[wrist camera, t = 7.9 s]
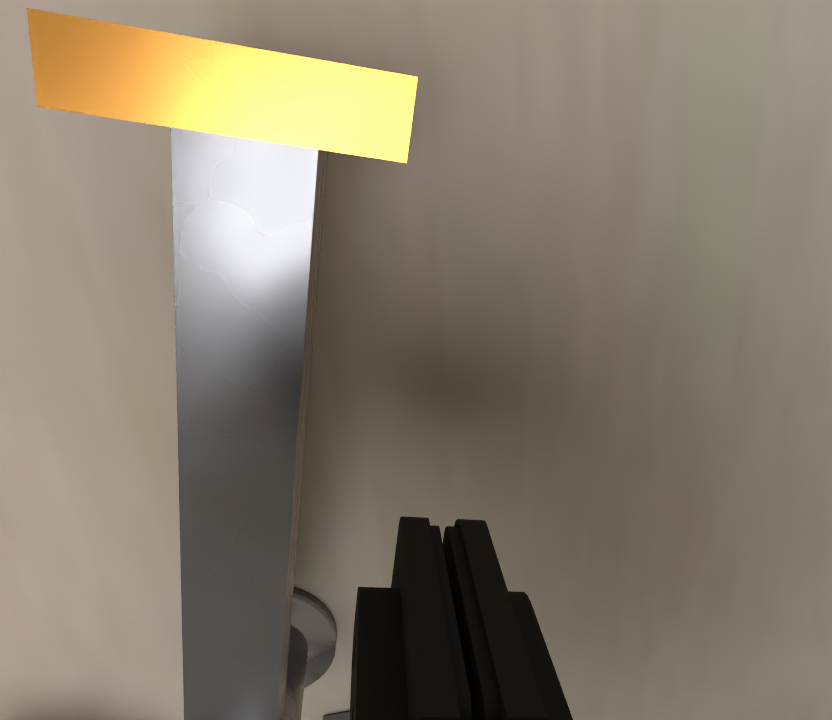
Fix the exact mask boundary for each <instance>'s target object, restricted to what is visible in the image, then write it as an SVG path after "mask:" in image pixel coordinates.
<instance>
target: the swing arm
mask: <svg viewBox="0 0 832 720" xmlns="http://www.w3.org/2000/svg"><path fill="white" fill-rule="evenodd" d="M27 14H28V23H29V33H30V42H31V52H32V61H33V70H34V80H35V89H36V99H37V107H43V108H49V109H56V110H62V111H69V112H75V113H82V114H89V115H95V116H102V117H108V118H115V119H121V120H128V121H134V122H141V123H147V124H154V125H161V126H167V127H171V146H172V191H173V236H174V281H175V326H176V370H177V415H178V460H179V505H180V550H181V595H182V639H183V684H184V720H282V716H283V708H284V701H285V690H286V677H287V665H288V652H289V639H290V627H291V614H292V601H293V589H294V576H295V563H296V551H297V538H298V526H299V513H300V500H301V488H302V475H303V462H304V450H305V437H306V424H307V412H308V399H309V386H310V374H311V361H312V349H313V336H314V323H315V311H316V298H317V285H318V273H319V260H320V247H321V235H322V222H323V209H324V197H325V184H326V172H327V159H328V151H331V152H337V153H344V154H350V155H357V156H364V157H370V158H377V159H383V160H390V161H396V162H403V163H407V156H408V148H409V141H410V133H411V125H412V118H413V110H414V103H415V95H416V87H417V80H418V77H415V76H410V75H404V74H398V73H393V72H387V71H381V70H376V69H370V68H364V67H359V66H353V65H347V64H342V63H336V62H330V61H325V60H319V59H313V58H308V57H302V56H296V55H291V54H285V53H279V52H274V51H268V50H262V49H257V48H251V47H245V46H240V45H234V44H228V43H223V42H217V41H211V40H206V39H200V38H194V37H189V36H183V35H177V34H171V33H166V32H160V31H154V30H149V29H143V28H137V27H132V26H126V25H120V24H115V23H109V22H103V21H98V20H92V19H86V18H81V17H75V16H69V15H64V14H58V13H52V12H47V11H41V10H35V9H30V8H27Z"/></svg>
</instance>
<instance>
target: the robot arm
mask: <svg viewBox="0 0 832 720" xmlns="http://www.w3.org/2000/svg"><path fill="white" fill-rule="evenodd" d="M350 720H573V719H572V716H571V713H570V710H569V708H568V705H567V702H566V699H565V696H564V694H563V691H562V688H561V685H560V683H559V680H558V677H557V674H556V671H555V669H554V666H553V663H552V660H551V657H550V655H549V652H548V649H547V646H546V643H545V641H544V638H543V635H542V632H541V629H540V627H539V624H538V621H537V618H536V616H535V613H534V610H533V607H532V604H531V602H530V600H529V598H528V595H527V594H526V593H525V592H508V591H507V587H506V584H505V581H504V578H503V575H502V571H501V568H500V565H499V562H498V559H497V556H496V552H495V549H494V546H493V543H492V540H491V536H490V533H489V530H488V527H487V524H486V522H485V521H484V520H463V519H457V520H456V522H455V525H454V527H450V526H447V527H446V528H445V532H444V538H443V544H442V539H441V533H440V528H439V526H430V522H429V519H428V518H419V517H400V521H399V528H398V536H397V544H396V552H395V560H394V568H393V576H392V584H391V588H373V587H358V592H357V601H356V612H355V623H354V636H353V652H352V675H351V701H350Z"/></svg>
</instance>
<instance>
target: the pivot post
mask: <svg viewBox="0 0 832 720" xmlns="http://www.w3.org/2000/svg"><path fill="white" fill-rule="evenodd" d="M335 647H336V627H335V622H334V620H333V617H332V615H331V614H330V612H329V611H328V609H327V608H326V607H325V606H324V605H323V604H322V603H321V602H320V601H319V600H317V599H316V598H314V597H313V596H311V595H309V594H307V593H306V592H303V591H301V590H298V589H295V588H294V589H293V601H292V614H291V627H290V639H289V652H288V665H287V677H286V690H285V701H284V708H283V716H282V720H301V712H302V702H303V693H304V688H305V687H307V686H309V685H310V684H312V683H314V682H315V681H316V680H318V679H319V678H320V677H321V676H322V675H323V674H324V673H325V672H326V671H327V669H328V668H329V666H330V665H331V663H332V661H333V658H334V654H335Z"/></svg>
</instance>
